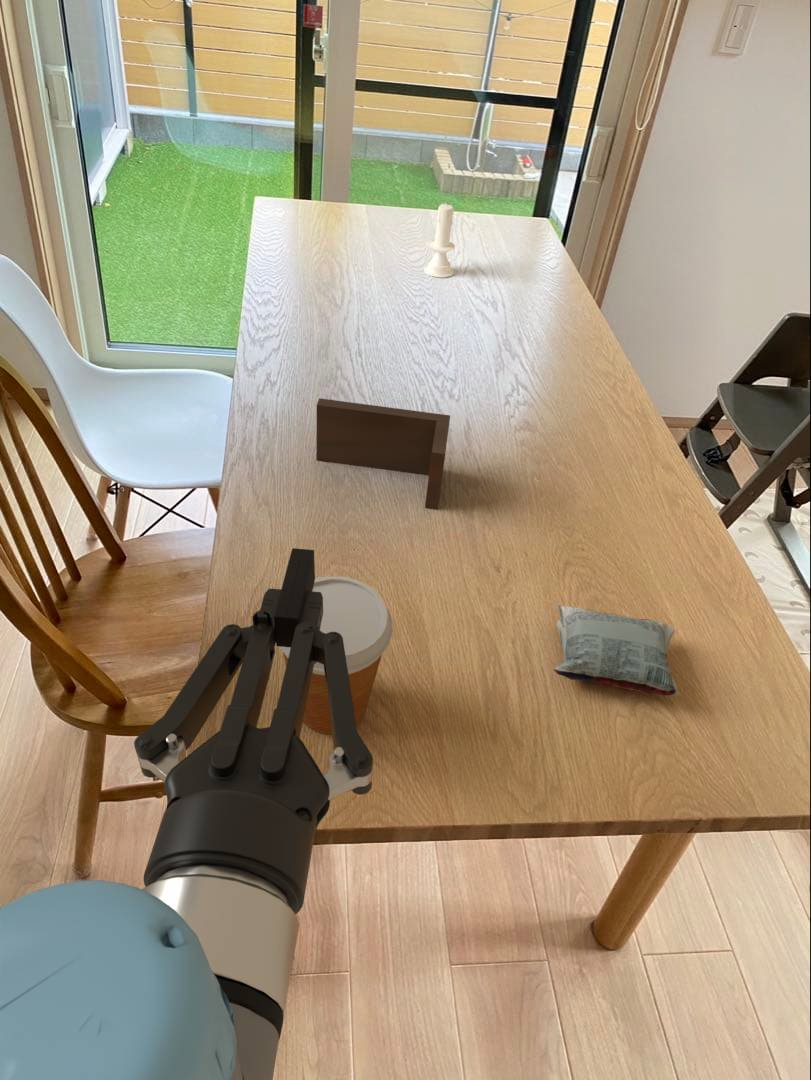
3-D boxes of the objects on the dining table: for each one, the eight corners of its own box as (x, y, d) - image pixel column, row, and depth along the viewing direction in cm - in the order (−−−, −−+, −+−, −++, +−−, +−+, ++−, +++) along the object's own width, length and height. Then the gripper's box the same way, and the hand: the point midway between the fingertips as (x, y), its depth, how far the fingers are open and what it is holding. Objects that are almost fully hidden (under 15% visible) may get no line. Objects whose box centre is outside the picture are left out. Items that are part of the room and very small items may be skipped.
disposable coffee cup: (256, 698, 70) (249, 606, 62) (340, 646, 75) (343, 556, 67) (322, 771, 65) (323, 682, 57) (406, 710, 70) (418, 621, 62)
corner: (437, 509, 91) (445, 454, 86) (305, 491, 92) (305, 435, 86) (442, 469, 97) (450, 415, 92) (318, 453, 98) (319, 398, 92)
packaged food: (551, 619, 80) (561, 586, 76) (668, 640, 79) (684, 608, 76) (547, 688, 73) (559, 655, 70) (675, 712, 73) (692, 680, 69)
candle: (418, 267, 141) (425, 198, 133) (445, 264, 143) (453, 196, 135) (432, 279, 138) (439, 210, 130) (458, 276, 140) (467, 207, 131)
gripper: (98, 927, 39) (216, 595, 57) (360, 950, 38) (395, 609, 56) (62, 851, 34) (204, 514, 52) (362, 876, 34) (399, 529, 52)
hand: (303, 564), depth 54 cm, fingers closed
